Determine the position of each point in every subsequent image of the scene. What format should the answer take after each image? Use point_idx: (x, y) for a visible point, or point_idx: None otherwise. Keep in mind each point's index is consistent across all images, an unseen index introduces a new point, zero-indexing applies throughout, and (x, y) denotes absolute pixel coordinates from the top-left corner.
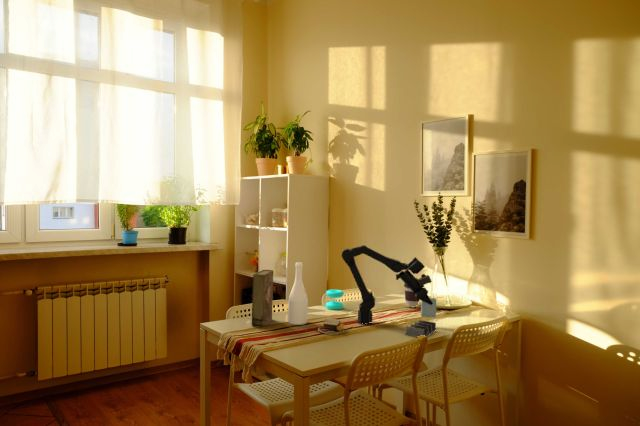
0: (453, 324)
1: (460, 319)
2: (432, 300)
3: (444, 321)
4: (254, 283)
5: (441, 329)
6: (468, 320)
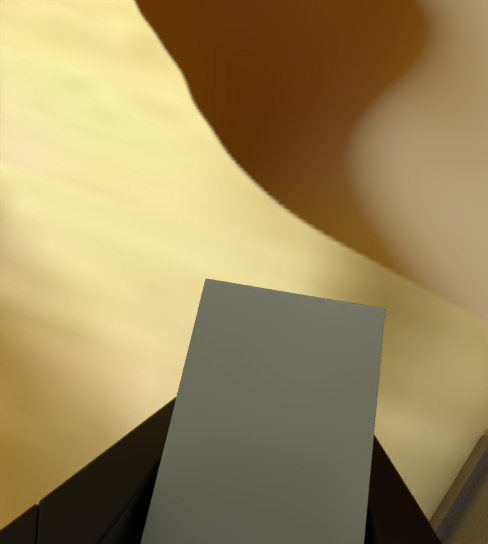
0: (208, 181)
1: (54, 82)
2: (369, 436)
3: (98, 222)
4: None
5: (402, 351)
6: (92, 40)
